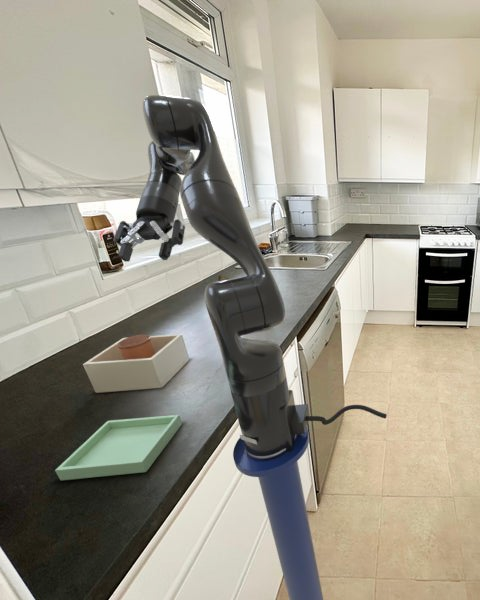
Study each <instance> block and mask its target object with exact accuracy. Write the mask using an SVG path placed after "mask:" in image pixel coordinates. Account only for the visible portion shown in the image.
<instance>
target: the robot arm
mask: <svg viewBox="0 0 480 600" xmlns="http://www.w3.org/2000/svg"><path fill="white" fill-rule="evenodd" d="M142 112H143V113H142V114H143V118H144V122H145V126H146V129H147V132H148V134H149V137H150V139H151V140H152V141H150V143H149V144H148V145H147V157H148V165H149V173H148V177H147V181H146V184H145V186H144V188H143V190H142V192H141V194H140V198H139V202H138V204H137V208H136V211H135V215H136V217H135V218H136V220H135V221H133V223H127V222H126V221H125V220H121V221H120V222H119V225H118V227H117V230H116V232H115V234H114V236H113V240H112V241H113V242H115V243H116V244H117V245H118V246H119V247H120V248H119V252H118V257H119V259H120V260H122V261H123V262H125V263H127V262H130V261H131V257H132V254H133V251H134V248H135V247H136V246H137V245H138V244H142V243H144V242H145V241H151V240H155V241H160V239H161V240H162V242H161V244H160V248H159V252H158V258H160V259H161V260H162V261H168V259H169V258H170V257H171V254H172V250H173V248H174V247H175V246H182V245H183V243H184V237H185V231H186V230H185V229H186V226H185V225H184V223H183V222H182V221H181V220H180V219H175V218H176V213H177V210H178V205H179V200H180V199H181V202H182V205H183V208H184V211H185V214H186V218H187V220H188V221H189V224H190V226H191V228H193V230H194V231H195V232H196V233H197V234H198V235H199V236H201V237H202V238H203V239H204V240H206V242H208V243H210V244H211V245H213V246H214V247H216V248H217V249H219V250H220V251H222V252H223V253H224V254H226V255H227V256H229V257H230V258H231V259H232V260H233V261H234V262H235V263H237V265H238V266H239V267H240V268H241V270H242V271H243V273H244V274H245V276H240V277H235V278H228V279H229V280H223V281H218V280H217V281H214V282H211V283H208V284H207V286H206V287H205V290H204V302H205V307H206V311H207V315H208V317H209V320H210V323H211V326H212V329H213V331H214V335H215V338H216V340H217V343H218V347H219V350H220V354H221V358H222V362H223V366H224V370H225V374H226V379H227V382H228V387H229V391H230V394H231V398H232V402H233V405H234V409H235V413H236V416H237V420H238V425H239V429H240V433H241V434H239V438H241V439H242V440H244V445H245V450H246V453H247V455H248V456H249V457H250V458H252V459H254V460H258V461H265V460H271V459H274V458H277V457H279V456H281V455H283V454H284V453H286V452H289V451H293V449H294V445H295V441H296V439H297V435H299V434H305V432H306V427H307V428H308V422H321V424H322V425H323V426H326V425H330V424H332V423H333V422H334V421H335V420H337V419H338V418H339V417H340V416H341V415H342V414H344V413H346V412H348V411H350V410H360V411H365V412H368V413H369V414H372V415H374V416H377V417H379V418H382V419H387V413H384V412H381V411H378V410H376V409H374V408H372V407H369V406H367V405H364V404H363V405H362V404H350V405H346V406H344V407H342V408H341V409H339V410H338V411H337V412H335V413H334V415H332V416H331V417H329V418H328V419H326V418H325V417H324V416H320V415H310V409H309V404H308V403H303V404H296V403H295V402H296V401H295V398H294V391H293V389H289V384H288V379H287V373H286V367H285V362H284V356H283V351H282V349H281V347H280V345H279V344H277V343H276V342H274V341H270V340H265V339H249V338H244V337H242V336H246V335H249V334H253V333H256V332H260V331H263V330H267V329H270V328H274V327H276V326H279V325H281V324H282V323H283V322H284V320H285V318H286V307H285V302H284V298H283V297H282V293H281V290H280V288H279V285H278V283H277V281H276V279H275V277H274V275H273V273H272V272H271V269H270V267H269V264H268V263H267V261H266V259H265V257H264V254H262V251H261V249H260V247H259V245H258V242H257V240H256V238H255V236H254V233H253V230H252V227H251V225H250V222H249V220H248V217H247V213H246V209H245V208H244V204H243V201H242V199H241V197H240V194H239V192H238V190H237V188H236V186H235V183H234V181H233V179H232V177H231V175H230V172H229V170H228V167H227V165H226V162H225V161H224V157H223V153H222V150H221V147H220V144H219V140H218V137H217V134H216V131H215V128H214V124H213V122H212V118H211V116H210V113H209V112H208V109H207V108H206V106H205V105H204V104H203V103H202V102H201V101H199V100H196V99H193V98H189V97H181V96H173V95H162V94H150V95H147V96H145V97H144V99H143V101H142ZM192 151H199V152H198V155H197V157H196V159H195V155H194V153H193V152H192ZM181 176H184V177H183V179H182V178H181ZM179 198H180V199H179ZM170 231H172V233H171V237H170V235H169V234H168V233H169V232H170ZM136 235H138V236H139V237H137V236H136Z"/></svg>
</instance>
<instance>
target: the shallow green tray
mask: <svg viewBox="0 0 480 600" xmlns="http://www.w3.org/2000/svg"><path fill="white" fill-rule="evenodd" d="M182 425H183V422H182V418H181V415H180V414H171V415H170V414H169V415H161V416H160V415H159V416H149V417H147V416H146V417H136V418H125V419H111V420H107V421H106V422H104V423H103V425H101V426H100V427H99V428H98V429H97V430H96V431H95V432H94V433H93V434H92V435H91V436H89V438H87V440H86V441H85V442H83V443H82V444H81V445H80V446H79V447H78V448H76V449H75V451H74V452H72V453H71V455H70V456H69V457H67V458H66V459H65V460H64V461H63V462H62V463H61V464H60V465H58V467H57V468H55V470H54V472H55V473H56V475H57V477H58V479H59V480H60V481H71V480H81V479H89V478H101V477H111V476H120V475H130V474H138V473H139V474H140V473H141V474H142V473H146V472H148V470H149V469H150V467H152V465H153V464H154V462H155V461H156V460H157V459H158V457H159V456H160V455H161V454H162V452H163V450H165V448H166V446H167V445H168V444H169V442H170V441H171V440H172V438H173V437H174V435H175V434H176V433H177V431H178V430H179V429H180V428H181V426H182Z"/></svg>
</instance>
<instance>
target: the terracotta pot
mask: <svg viewBox="0 0 480 600" xmlns="http://www.w3.org/2000/svg"><path fill="white" fill-rule="evenodd" d="M150 336H151V335H149V334H136V335H132V336H129V337H125V338H126V339H124V340H122V341H120V342H119V343H118V344H117V346H118V348H119V349H120V351H121V354H122V356H123V359H124V360H129V359H144V358H151V357H152V356H154V355H155V351H154V348H153V345H152V343H151V337H150Z"/></svg>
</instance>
